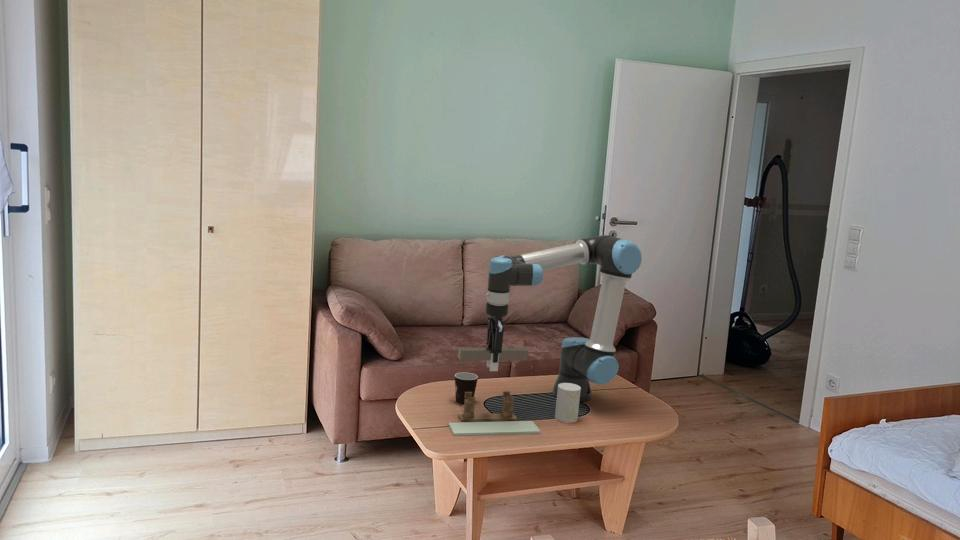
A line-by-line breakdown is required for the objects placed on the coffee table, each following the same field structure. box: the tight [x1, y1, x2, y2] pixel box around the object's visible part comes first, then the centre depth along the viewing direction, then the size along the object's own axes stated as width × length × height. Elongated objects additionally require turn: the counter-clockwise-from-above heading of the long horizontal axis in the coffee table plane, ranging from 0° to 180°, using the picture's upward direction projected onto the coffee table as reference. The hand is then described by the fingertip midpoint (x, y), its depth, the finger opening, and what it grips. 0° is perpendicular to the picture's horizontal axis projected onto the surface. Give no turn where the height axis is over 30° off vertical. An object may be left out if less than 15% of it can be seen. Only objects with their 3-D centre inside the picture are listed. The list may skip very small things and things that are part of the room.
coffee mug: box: [454, 371, 479, 406], centre depth 271 cm, size 12×9×10 cm
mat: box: [447, 420, 542, 437], centre depth 247 cm, size 30×9×1 cm, turn 104°
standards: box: [458, 390, 518, 422], centre depth 255 cm, size 20×6×9 cm, turn 104°
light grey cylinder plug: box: [554, 383, 581, 424], centre depth 261 cm, size 8×8×12 cm
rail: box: [457, 347, 529, 361], centre depth 252 cm, size 24×4×4 cm, turn 104°
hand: (492, 368), depth 253 cm, fingers closed on rail, 3 cm apart
